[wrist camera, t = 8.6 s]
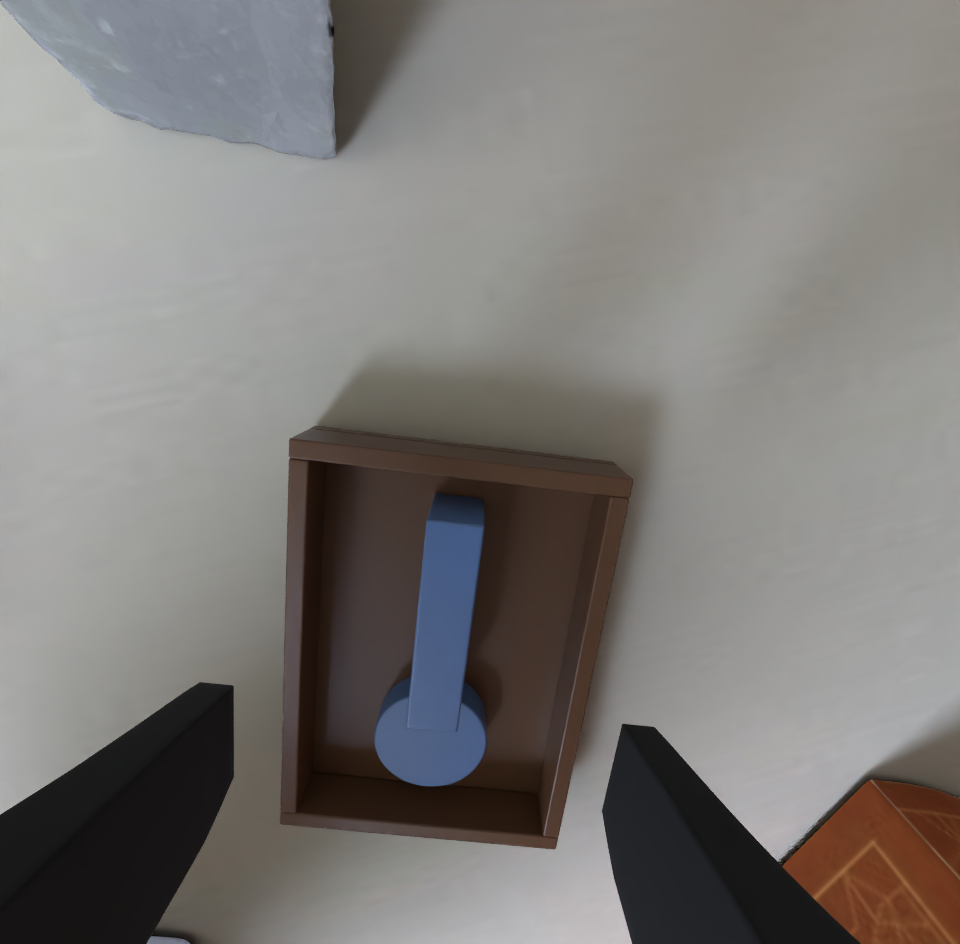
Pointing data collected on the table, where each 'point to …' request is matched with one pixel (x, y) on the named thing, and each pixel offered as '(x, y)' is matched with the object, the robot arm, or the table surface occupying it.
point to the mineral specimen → (201, 64)
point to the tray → (392, 624)
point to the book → (888, 865)
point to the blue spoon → (439, 658)
